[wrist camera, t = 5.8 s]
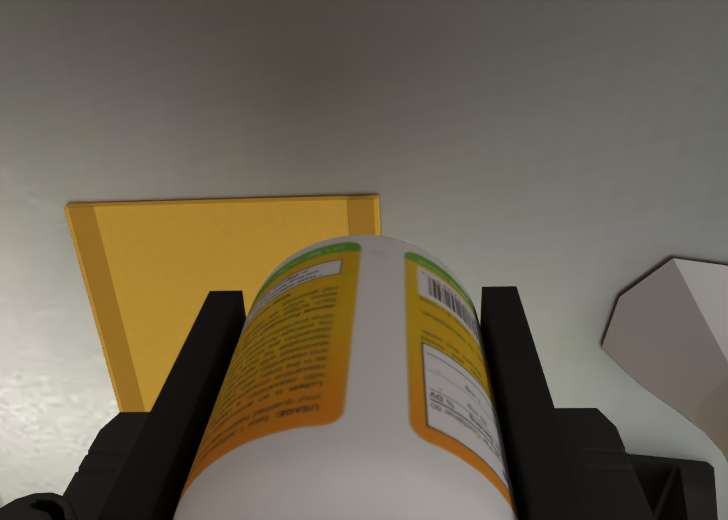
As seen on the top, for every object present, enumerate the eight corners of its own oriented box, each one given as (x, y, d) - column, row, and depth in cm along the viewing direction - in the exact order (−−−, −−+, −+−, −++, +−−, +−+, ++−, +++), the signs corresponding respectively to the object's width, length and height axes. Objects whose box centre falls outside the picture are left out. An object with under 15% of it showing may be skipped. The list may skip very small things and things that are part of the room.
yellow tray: (68, 203, 31) (62, 207, 30) (379, 194, 30) (378, 199, 29) (139, 468, 38) (136, 475, 37) (390, 467, 37) (390, 475, 37)
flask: (798, 295, 31) (956, 452, 22) (695, 406, 34) (799, 581, 25) (666, 230, 30) (778, 368, 21) (573, 351, 33) (636, 515, 24)
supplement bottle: (240, 400, 17) (79, 897, 9) (263, 207, 15) (71, 628, 6) (449, 437, 17) (499, 956, 9) (506, 251, 15) (655, 719, 6)
